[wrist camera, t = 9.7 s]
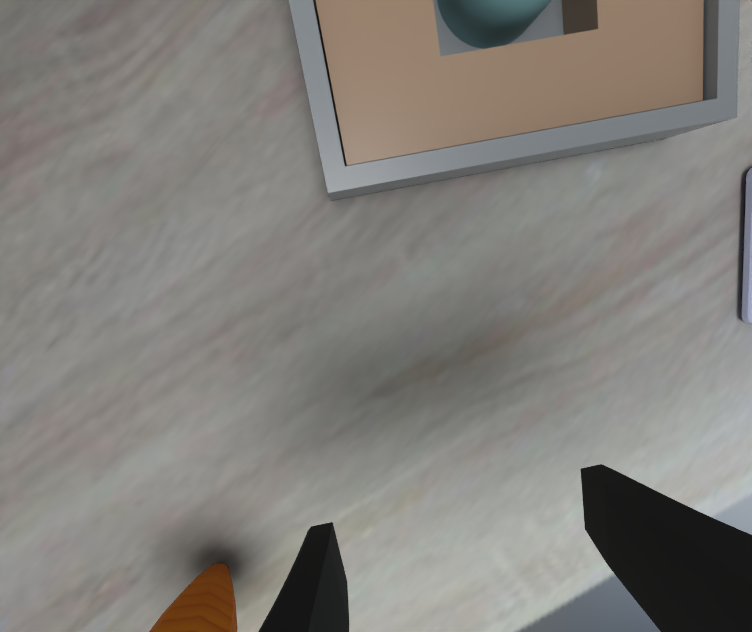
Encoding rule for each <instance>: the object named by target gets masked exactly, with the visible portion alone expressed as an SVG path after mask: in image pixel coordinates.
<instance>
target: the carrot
mask: <svg viewBox="0 0 752 632" xmlns="http://www.w3.org/2000/svg"><path fill="white" fill-rule="evenodd" d="M150 632H237V617H236V605H235V596H234V590H233V585H232V580H231V576H230V571H229V568H228V567H227V566H226V565H225V564H223V563H218V564H213V565H211V566H210V567H209V568H208V569H206V570H205V571H204V572H203V573H201V574H200V575H199V576H197V577H196V578H195V579H194V581H193V582H192V583H191V584H190V585H189V586H188V587H187V588H186V589H185V590H184V591H183V592H182V593H181V594H180V595H179V597H178V598H177V599H176V600H175V601H174V602H173V603H172V604H171V605H170V606H169V607H168V608H167V610H166V611H165V612H164V613H163V614H162V615H161V617H160V618H159V619H158V621H157V622H156V623H155V625H154V626H153V628H152V629H151V630H150Z"/></svg>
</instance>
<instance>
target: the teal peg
mask: <svg viewBox="0 0 752 632" xmlns="http://www.w3.org/2000/svg"><path fill="white" fill-rule="evenodd" d="M551 1H552V0H437V3H438V7H439V10H440V13H441V15H442V18H443V20H444V22H445V23H446V25H447V26H448V28H449V29H450V31H451V32H452V33H453V34H454V35H455V36H456V37H457V38H459V39H460V40H461V41H463V42H464V43H466V44H468V45H470V46H473V47H476V48H481V49H487V48H492V47H498V46H504V45H507V44H509V43H511V42H513V41H514V40H516V39H517V38H518V37H519V36H520V35H521V34H523V33H524V31H525V30H526V29H527V28H528V27H529V26H530V25H531V24H532V22H533V21H534V20H535V19H536V18H537V17H538V16H539V15H540V13H541V12H542V11H543V10H544V9H545V8H546V7H547V5H548V4H549V3H550V2H551Z"/></svg>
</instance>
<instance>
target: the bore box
mask: <svg viewBox="0 0 752 632" xmlns="http://www.w3.org/2000/svg"><path fill="white" fill-rule="evenodd" d="M289 4H290V9H291V14H292V19H293V24H294V29H295V34H296V39H297V44H298V49H299V54H300V59H301V63H302V68H303V73H304V78H305V83H306V88H307V93H308V98H309V103H310V108H311V113H312V118H313V122H314V127H315V132H316V137H317V142H318V147H319V152H320V157H321V162H322V167H323V172H324V177H325V182H326V186H327V191H328V194H329V197H330V199H331V201H332V200H338V199H343V198H348V197H354V196H359V195H365V194H370V193H375V192H381V191H386V190H391V189H397V188H402V187H408V186H413V185H418V184H424V183H429V182H435V181H440V180H445V179H451V178H456V177H461V176H467V175H472V174H478V173H483V172H488V171H494V170H499V169H504V168H510V167H515V166H521V165H526V164H531V163H537V162H542V161H547V160H553V159H558V158H564V157H569V156H574V155H580V154H585V153H590V152H596V151H601V150H607V149H612V148H617V147H623V146H628V145H633V144H639V143H644V142H650V141H655V140H660V139H665V138H668V137H672V136H675V135H678V134H682V133H685V132H688V131H692V130H695V129H699V128H702V127H705V126H709V125H712V124H715V123H719V122H722V121H726V120H729V119H732V118H736V117H737V81H738V44H739V8H740V0H552V1H551V2H550V3H549V4H548V5H547V7H546V8H545V9H544V10H543V11H542V12H541V13H540V15H539V16H538V17H537V18H536V19H535V20H534V21H533V22H532V24H531V25H530V26H529V27H528V28H527V29H526V30H525V31H524V33H523V34H521V35H520V36H519V37H518V38H517V39H516V40H514V41H513V42H511V43H509V44H507V45H504V46H498V47H492V48H487V49H481V48H476V47H473V46H470V45H468V44H466V43H464V42H463V41H461V40H460V39H459V38H457V37H456V36H455V35H454V34H453V33H452V32H451V31H450V29H449V28H448V26H447V25H446V23H445V22H444V20H443V18H442V15H441V13H440V10H439V7H438V3H437V0H289Z"/></svg>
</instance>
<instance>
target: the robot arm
mask: <svg viewBox="0 0 752 632" xmlns="http://www.w3.org/2000/svg"><path fill="white" fill-rule="evenodd" d="M742 319H743V320H744V322H747V323H750V324H752V168H751V169H750V170H749V171H748V173H747V177H746V203H745V232H744V262H743V291H742ZM581 479H582V493H583V507H584V521H585V530H586V531H587V533H588V534H589V536H590V538H591V539H592V541H593V542H594V544H595V546H596V547H597V549H598V550H599V552H600V553H601V555H602V557H603V558H604V560H605V561H606V563H607V564H608V566H609V567H610V568H611V570H612V571H613V572H614V573H615V575H616V576H617V577H618V579H619V580H620V581H621V582H622V583H623V585H624V586H625V587H626V589H627V590H628V591H629V592H630V594H631V595H632V596H633V597H634V599H635V600H636V601H637V602H638V604H639V605H640V606H641V607H642V608H643V610H644V611H645V612H646V614H647V615H648V616H649V617H650V619H651V620H652V621H653V622H654V623H655V625H656V626H657V627H658V629H659V630H660V631H661V632H752V535H750V534H748V533H746V532H743V531H741V530H738V529H736V528H734V527H732V526H729V525H727V524H725V523H723V522H720V521H718V520H716V519H714V518H711V517H709V516H707V515H705V514H703V513H700V512H698V511H696V510H694V509H692V508H690V507H688V506H686V505H683V504H681V503H679V502H677V501H675V500H673V499H671V498H669V497H667V496H665V495H663V494H661V493H659V492H657V491H655V490H653V489H651V488H649V487H647V486H645V485H643V484H641V483H639V482H637V481H635V480H633V479H631V478H629V477H627V476H625V475H623V474H621V473H619V472H617V471H615V470H613V469H611V468H608V467H606V466H604V465H602V464H601V465H596V466H591V467H587V468H582V469H581ZM259 632H349V609H348V590H347V579H346V575H345V571H344V567H343V563H342V559H341V555H340V551H339V547H338V543H337V539H336V535H335V530H334V526H333V522H331V523H326V524H322V525H317V526H312V527H311V528H310V529H309V530H308V532H307V535H306V537H305V539H304V542H303V544H302V546H301V549H300V551H299V553H298V555H297V558H296V560H295V562H294V564H293V566H292V569H291V571H290V573H289V575H288V577H287V579H286V581H285V583H284V585H283V587H282V589H281V591H280V593H279V595H278V597H277V599H276V601H275V603H274V605H273V607H272V608H271V610H270V612H269V614H268V616H267V617H266V619H265V621H264V623H263V625H262V626H261V628H260V630H259Z"/></svg>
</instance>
